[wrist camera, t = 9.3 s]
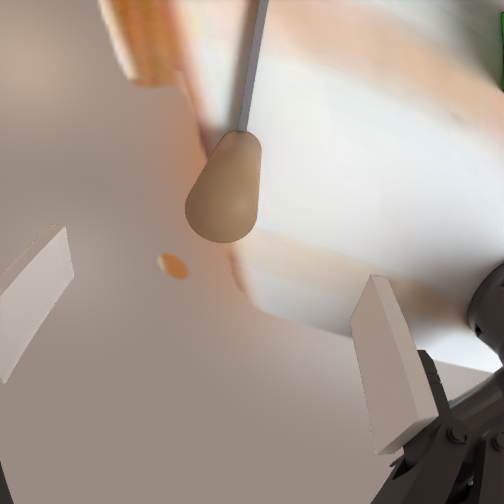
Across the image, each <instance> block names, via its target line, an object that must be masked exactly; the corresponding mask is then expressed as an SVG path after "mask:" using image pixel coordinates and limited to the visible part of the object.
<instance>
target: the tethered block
mask: <svg viewBox="0 0 504 504" xmlns="http://www.w3.org/2000/svg"><path fill="white" fill-rule="evenodd" d="M268 1H269V0H260V2H259V7H258V12H257V18H256V24H255V29H254V35H253V41H252V47H251V53H250V59H249V65H248V71H247V77H246V83H245V89H244V96H243V102H242V109H241V115H240V122H239V129H238V130H235V131H231V132H229V133H227V134H226V135H225V136H224V137H223V138H222V139H221V141H220V142H219V144H218V146H217V147H216V149H215V150H214V152H213V154H212V155H211V157H210V159H209V160H208V162H207V164H206V165H205V167H204V169H203V170H202V172H201V174H200V175H199V177H198V179H197V181H196V182H195V184H194V186H193V187H192V189H191V191H190V193H189V195H188V197H187V199H186V204H185V214H186V218H187V220H188V222H189V224H190V226H191V227H192V229H193V230H194V231H195V232H196V233H197V234H199V235H200V236H201V237H203V238H205V239H207V240H210V241H212V242H217V243H229V242H234V241H237V240H239V239H241V238H243V237H244V236H246V235H247V234H248V233H249V232H250V231H251V230H252V228H253V226H254V225H255V222H256V219H257V210H258V195H259V180H260V165H261V145H260V142H259V141H258V139H257V138H256V137H255V136H254V135H253V134H251V133H250V132H247V124H248V118H249V112H250V106H251V99H252V93H253V87H254V81H255V75H256V69H257V63H258V57H259V51H260V46H261V40H262V34H263V29H264V23H265V17H266V12H267V6H268Z"/></svg>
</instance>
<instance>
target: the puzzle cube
mask: <svg viewBox="0 0 504 504" xmlns="http://www.w3.org/2000/svg"><path fill="white" fill-rule="evenodd" d="M501 14H502V27H503V48H504V12H502V13H501ZM503 91H504V66H503Z"/></svg>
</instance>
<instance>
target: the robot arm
mask: <svg viewBox="0 0 504 504" xmlns="http://www.w3.org/2000/svg"><path fill="white" fill-rule="evenodd" d="M73 278H74V271H73V266H72V261H71V256H70V251H69V246H68V240H67V234H66V228H65V226H61V225H55V224H52V225H51V226H49V227H48V228H47V229H46V230H45V231H44V232H43V233H42V234H41V235H40V236H39V237H38V238H37V239H36V240H35V241H34V242H33V243H32V244H31V245H30V246H29V247H28V248H27V249H26V250H25V251H24V252H23V253H22V254H21V255H20V256H19V257H18V258H17V259H16V260H15V261H14V262H13V263H12V264H11V266H10V267H9V268H8V269H7V270H6V271H5V272H4V273H3V274H2V275H1V276H0V382H2V383H4V384H5V383H6V381H7V379H8V378H9V376H10V374H11V372H12V371H13V369H14V367H15V365H16V364H17V362H18V360H19V359H20V357H21V355H22V354H23V352H24V350H25V349H26V347H27V345H28V344H29V342H30V341H31V339H32V337H33V336H34V334H35V333H36V331H37V330H38V328H39V326H40V325H41V323H42V322H43V321H44V319H45V318H46V316H47V315H48V313H49V312H50V310H51V309H52V307H53V306H54V304H55V303H56V301H57V300H58V299H59V297H60V296H61V294H62V293H63V292H64V290H65V289H66V287H67V286H68V285H69V283H70V282H71V281H72V279H73ZM349 323H350V328H351V332H352V336H353V340H354V345H355V349H356V353H357V359H358V363H359V368H360V373H361V378H362V382H363V388H364V393H365V398H366V403H367V409H368V414H369V420H370V426H371V432H372V438H373V444H374V451H375V455H383V454H392V453H395V452H396V451H398V450H399V449H400V448H401V447H403V449H404V454H403V455H402V456H401V457H399V458H398V459H396V460H395V461H394V462H392V464H391V465H390V467H393V466H394V465H396V466H395V468H394V469H393V471H392V472H391V474H390V476H389V477H388V479H387V480H386V482H385V483H384V485H383V486H382V488H381V490H380V491H379V492H378V494H377V495H376V497H375V498H374V500H373V501H372V502H371V504H504V264H502V265H501V266H500V267H498V268H497V269H496V270H495V271H494V272H492V273H491V274H490V275H489V276H488V277H487V279H486V280H485V281H484V282H483V283H482V285H481V286H480V287H479V289H478V290H477V292H476V293H475V295H474V297H473V299H472V301H471V303H470V306H469V310H468V323H469V325H470V327H471V329H472V331H473V332H474V334H475V335H476V336H477V337H478V338H479V339H480V340H481V341H482V342H484V343H485V344H486V345H487V346H488V347H489V348H491V349H492V350H493V351H494V352H495V353H496V354H497V355H498V356H499V358H500V360H501V362H502V364H503V366H502V367H501V368H500V369H499V370H497V371H496V372H494V373H493V374H492V375H490V376H489V377H488V378H486V379H485V380H483V381H482V382H480V383H479V384H477V385H476V386H474V387H473V388H471V389H470V390H468V391H467V392H465V393H463V394H462V395H460V396H459V397H457V398H455V399H454V400H450V401H447V398H446V395H445V392H444V389H443V386H442V384H441V383H440V382H441V381H440V378H439V375H438V374H437V370H436V367H435V364H434V362H433V360H432V359H431V357H430V356H429V355H428V353H427V352H426V351H425V350H417V349H416V346H415V344H414V341H413V338H412V336H411V333H410V331H409V328H408V326H407V323H406V321H405V318H404V316H403V313H402V311H401V309H400V306H399V304H398V302H397V299H396V297H395V295H394V292H393V290H392V288H391V286H390V283H389V281H388V279H387V277H384V276H377V275H370V278H369V280H368V282H367V284H366V287H365V289H364V291H363V293H362V296H361V298H360V300H359V302H358V304H357V306H356V309H355V311H354V313H353V315H352V317H351V319H350V321H349ZM0 504H14V503H13V501H12V498H11V495H10V492H9V489H8V486H7V483H6V480H5V477H4V473H3V470H2V466H1V463H0Z"/></svg>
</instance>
